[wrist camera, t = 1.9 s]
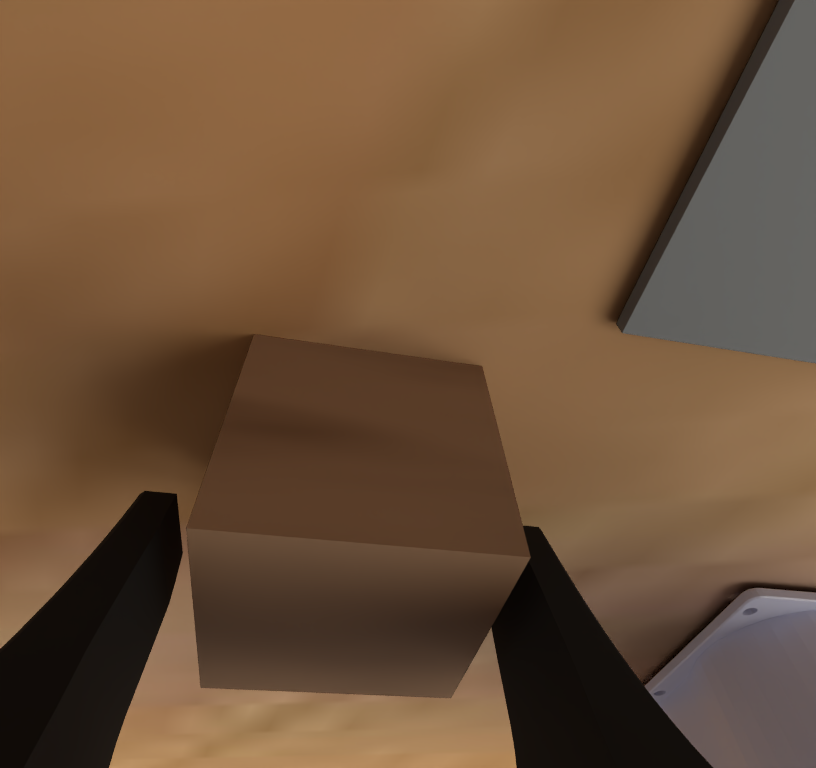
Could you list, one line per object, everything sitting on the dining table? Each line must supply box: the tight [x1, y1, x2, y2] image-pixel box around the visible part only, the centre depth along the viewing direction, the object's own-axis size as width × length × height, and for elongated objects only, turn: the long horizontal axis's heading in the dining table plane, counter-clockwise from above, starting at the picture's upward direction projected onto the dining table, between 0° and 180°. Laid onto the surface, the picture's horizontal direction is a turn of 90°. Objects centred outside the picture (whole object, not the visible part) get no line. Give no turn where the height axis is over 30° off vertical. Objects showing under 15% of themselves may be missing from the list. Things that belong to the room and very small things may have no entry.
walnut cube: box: [186, 334, 531, 698], centre depth 12 cm, size 6×6×6 cm
